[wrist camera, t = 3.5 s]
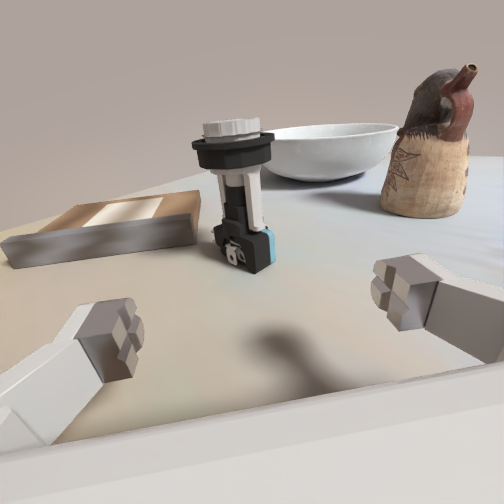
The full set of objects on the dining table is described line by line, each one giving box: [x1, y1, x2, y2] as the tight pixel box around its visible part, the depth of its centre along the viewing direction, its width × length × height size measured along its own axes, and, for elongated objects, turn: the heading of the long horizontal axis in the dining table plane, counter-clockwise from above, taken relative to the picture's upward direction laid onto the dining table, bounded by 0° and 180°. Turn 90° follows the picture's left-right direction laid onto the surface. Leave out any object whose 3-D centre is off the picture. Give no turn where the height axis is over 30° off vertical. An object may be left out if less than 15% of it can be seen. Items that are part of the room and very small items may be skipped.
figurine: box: [380, 63, 478, 218], centre depth 25 cm, size 7×7×12 cm
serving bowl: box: [262, 123, 399, 182], centre depth 41 cm, size 21×21×7 cm
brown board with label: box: [0, 190, 201, 269], centre depth 29 cm, size 16×14×2 cm
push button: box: [192, 117, 276, 274], centre depth 19 cm, size 7×5×10 cm
